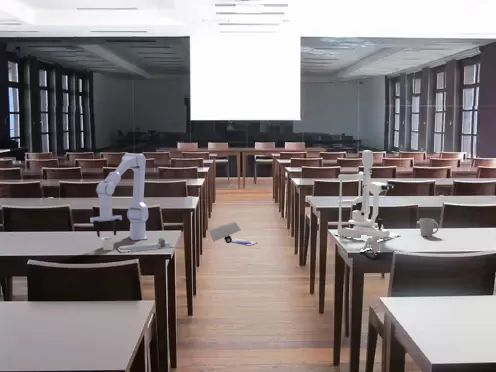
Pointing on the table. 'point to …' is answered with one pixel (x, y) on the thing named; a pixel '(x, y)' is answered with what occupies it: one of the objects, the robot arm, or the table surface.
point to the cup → (427, 226)
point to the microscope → (364, 204)
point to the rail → (147, 246)
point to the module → (107, 243)
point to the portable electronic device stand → (373, 243)
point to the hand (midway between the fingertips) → (106, 235)
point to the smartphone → (243, 242)
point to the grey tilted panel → (224, 231)
